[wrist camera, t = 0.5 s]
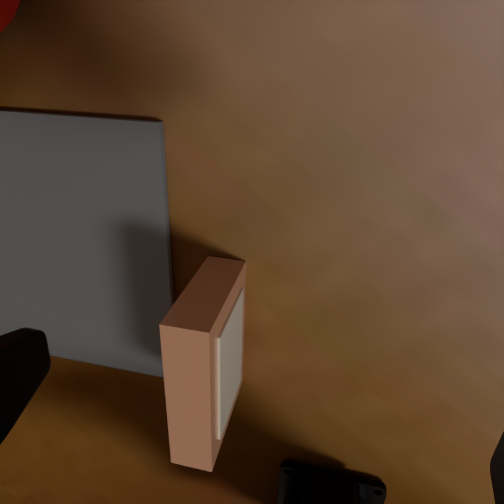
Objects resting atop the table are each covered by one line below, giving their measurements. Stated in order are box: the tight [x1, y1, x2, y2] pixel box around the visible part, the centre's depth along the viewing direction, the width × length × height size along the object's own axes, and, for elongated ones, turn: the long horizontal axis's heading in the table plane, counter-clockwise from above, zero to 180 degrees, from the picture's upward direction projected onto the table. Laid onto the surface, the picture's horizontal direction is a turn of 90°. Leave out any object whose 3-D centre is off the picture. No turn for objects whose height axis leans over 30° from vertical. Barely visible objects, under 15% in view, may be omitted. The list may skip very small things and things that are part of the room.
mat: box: [0, 110, 174, 378], centre depth 23 cm, size 15×16×1 cm
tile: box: [159, 256, 246, 472], centre depth 20 cm, size 8×2×6 cm, turn 178°
